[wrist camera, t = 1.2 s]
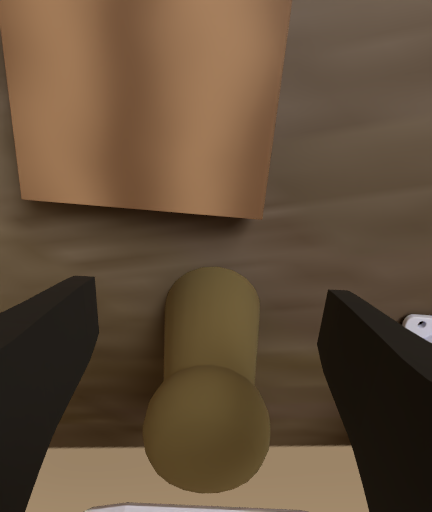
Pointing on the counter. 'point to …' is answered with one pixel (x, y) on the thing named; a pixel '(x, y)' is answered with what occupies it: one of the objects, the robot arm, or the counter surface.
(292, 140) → the counter surface
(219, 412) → the olive rounded piece
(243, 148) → the tan flat block
